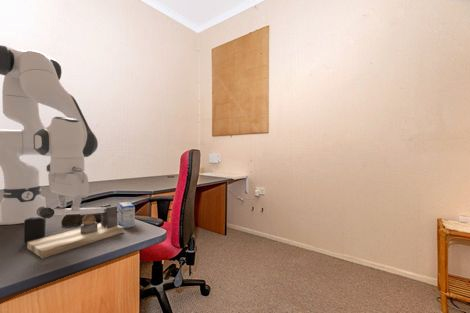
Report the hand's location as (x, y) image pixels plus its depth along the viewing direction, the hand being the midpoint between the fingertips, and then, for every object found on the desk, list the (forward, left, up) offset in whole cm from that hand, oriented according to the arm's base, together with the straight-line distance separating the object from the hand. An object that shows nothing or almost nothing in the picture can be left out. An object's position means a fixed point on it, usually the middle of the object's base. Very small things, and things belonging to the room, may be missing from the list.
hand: (68, 208), depth 74 cm
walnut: (0, +6, -7) cm, 9 cm away
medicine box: (-1, +20, -12) cm, 24 cm away
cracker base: (0, +3, -11) cm, 12 cm away
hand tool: (-17, +14, -12) cm, 25 cm away
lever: (0, +3, -3) cm, 4 cm away
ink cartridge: (-11, -6, -12) cm, 17 cm away
